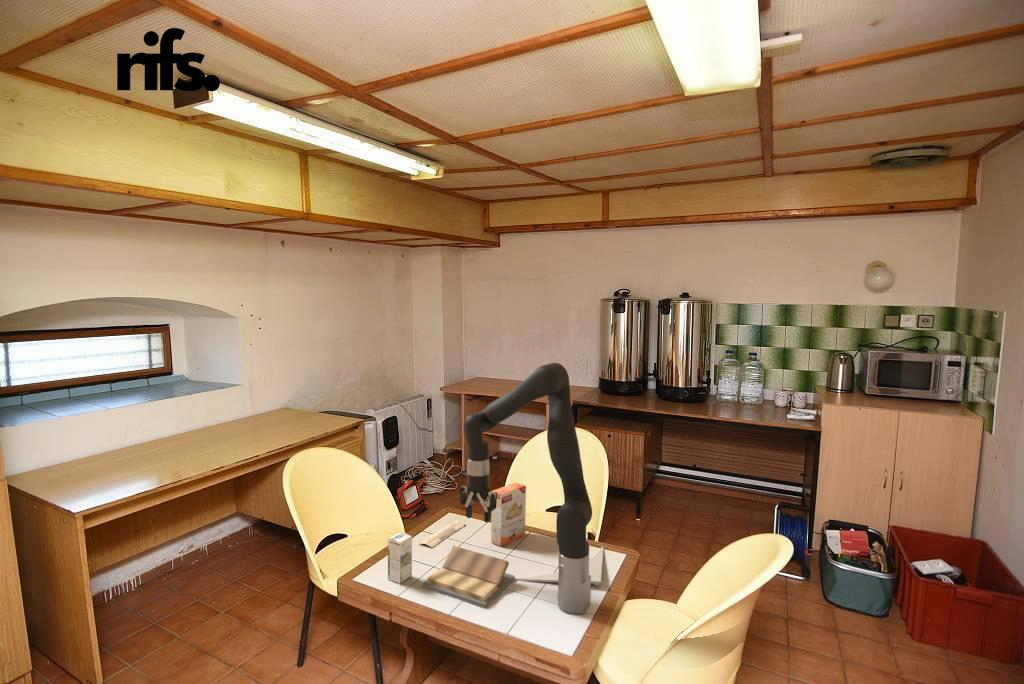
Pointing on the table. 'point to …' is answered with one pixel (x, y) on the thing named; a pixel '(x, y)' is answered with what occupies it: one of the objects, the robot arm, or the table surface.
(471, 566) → the walnut plank
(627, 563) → the table surface
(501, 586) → the board
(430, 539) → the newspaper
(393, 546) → the syrup box
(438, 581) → the oak plank
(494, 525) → the cracker box
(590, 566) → the corner molding
